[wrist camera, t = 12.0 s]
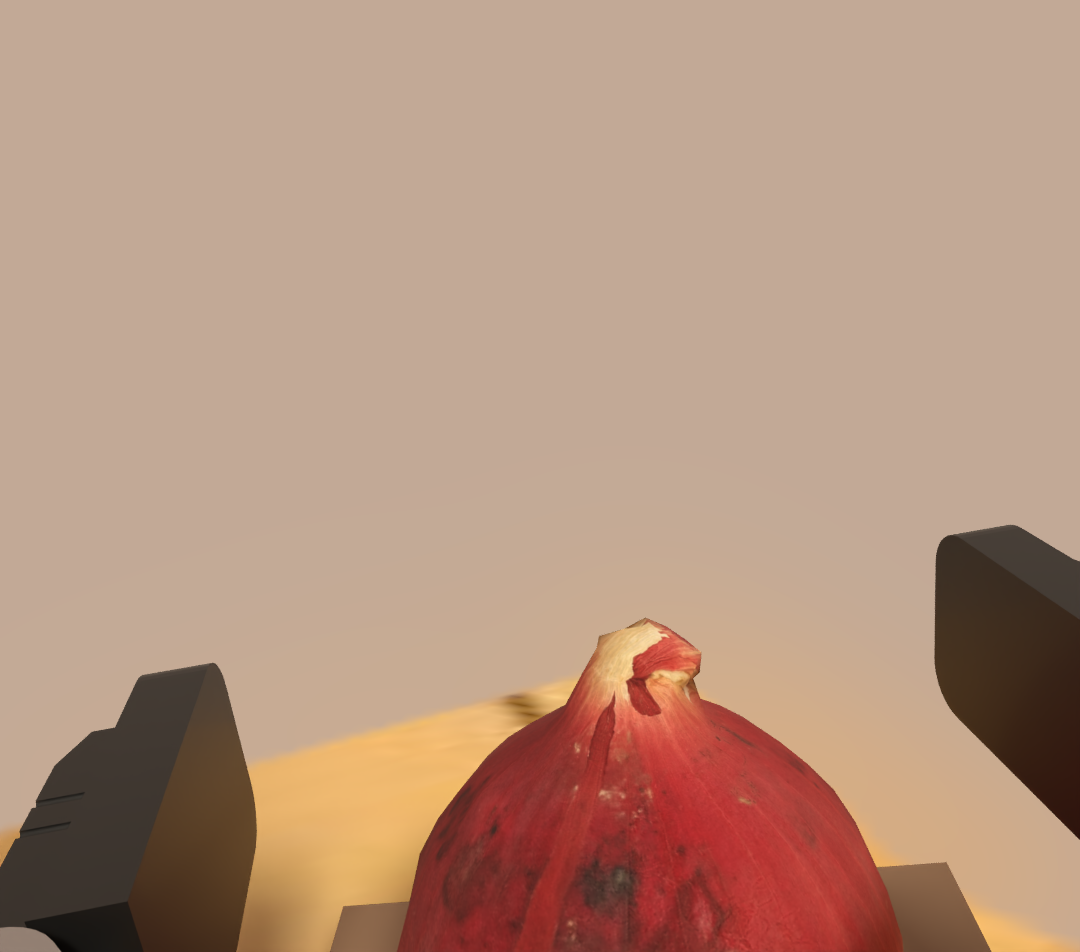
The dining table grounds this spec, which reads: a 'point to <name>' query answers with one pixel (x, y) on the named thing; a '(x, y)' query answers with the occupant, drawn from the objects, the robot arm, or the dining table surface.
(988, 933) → the dining table surface
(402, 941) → the onion
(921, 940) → the walnut block
